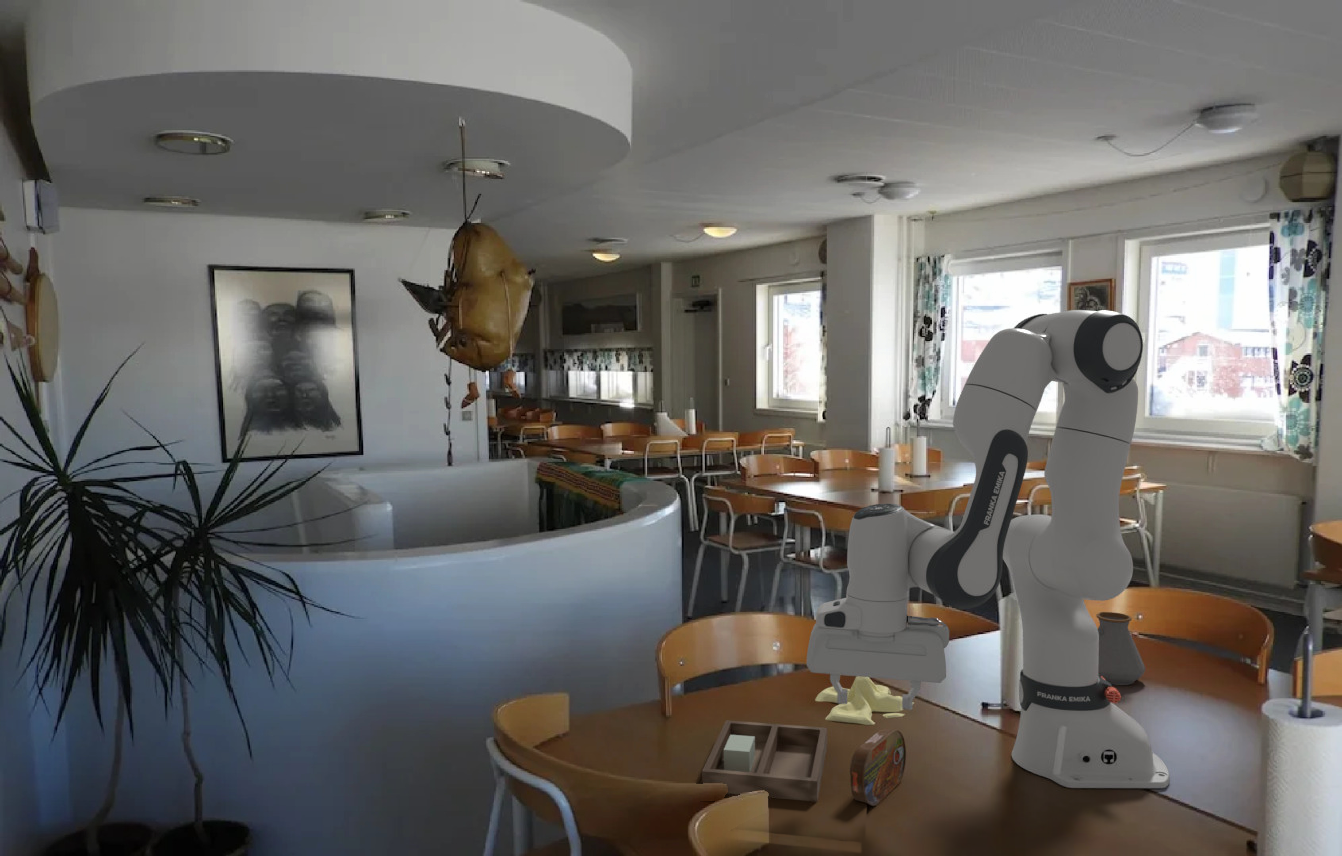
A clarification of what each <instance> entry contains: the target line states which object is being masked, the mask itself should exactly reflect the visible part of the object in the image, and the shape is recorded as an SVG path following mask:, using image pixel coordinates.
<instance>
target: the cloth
mask: <svg viewBox="0 0 1342 856" xmlns="http://www.w3.org/2000/svg"><path fill="white" fill-rule="evenodd" d="M842 689H846V688H845V687H842ZM847 689H848V695H847V696H848V701H847V704H842V703H841V704H840V703H837V692H836V690H835V689H834V687H833V686H830V687H827V688H824V689H823V690H822V691H821V692H819V693H818V694H817V696H816V697H815V698H814V700H815V702H829V703H835V704H837V705H835V706H834V707H832V708H831V710H830V713H829V714H828V715H827V716H826V717H825V721H833V722H839V723H846V724H847V723H848V724H857V725H863V726H864V725H865V726H867V725H868V726H870V725H872V726H874V725H875V724H876V722H874V721H873V720H872V716H873V713H872V712H880V713H881V712H882V713H883V714H882V716H883V718H886V719H891V718H900V717H901V718H902V717H903V716H905V715H906V714H905V713H900V712H902V711H903V710H905V709H902V695H895V696H894V695H892V692H891V689H890V688H889V687H888V686H884V685H883V684H882V685H881V684H875V683H874V682H873V681H872V679H871V677H860V676H855V678H854V681H853V683H852V685H851V687H850V688H847ZM913 704H915V702H913ZM898 712H899V713H898Z"/></svg>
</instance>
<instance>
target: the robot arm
mask: <svg viewBox="0 0 1342 856" xmlns="http://www.w3.org/2000/svg"><path fill="white" fill-rule="evenodd" d="M1143 349H1144V342H1143V336H1142V332H1141V330H1140V326H1139V325H1138V324H1137V322H1136V321H1135V319H1133V318H1132V317H1130V316H1129V315H1128V314H1127V315H1126V314H1125V313H1121V312H1117V311H1112V310H1105V309H1103V310H1097V311H1096V310H1087V309H1086V310H1085V309H1083V310H1082V309H1073V310H1072V309H1071V310H1065V311H1062V312H1052V313H1039V314H1034V315H1032V316H1030V317H1029V316H1028V317H1027V318H1025V319H1023V320H1021V321H1020V322H1018V323H1017V324H1016V325H1015V326H1014V327H1013V328H1006V329H1003V330H999V331H998V332H996V333H995V334H994V335H993V336H992V337H991V338H990V339H989V341H988V343H987V344H986V345H985V347H984V348H983V350H982V352H981V353H980V355H979V357H978V358H977V359H976V362H975V363H974V365H973V367H972V368H971V370H970V373H969V374H968V377H967V379H966V381H965V383H964V385H963V387H962V390H961V392H960V394H959V397H958V399H957V402H956V405H955V410H954V414H953V419H952V427H953V430H954V434H955V435H956V438H957V439H958V441H959V442H960V444H961V445H962V446H963V448H964V449H965V450H966V451H967V452H968V453H969V454H970V456H971V458H972V459H973V462H974V466H975V477H974V478H975V479H974V482H973V485H972V488H971V491H970V494H969V498H968V501H967V503H966V507H965V511H964V513H963V517H962V520H961V523H960V525H959V526H958V527H957V529H956V530H955V531H952V530H951V529H948V528H945V527H942V526H939V525H936V524H933V523H931V522H929V521H925V520H924V519H921V518H919V517H918V516H915V515H913V514H912V513H911V512H909V511H907V510H906V509H905V507H904V506H902V505H900V504H895V503H876V504H871V505H868V506H864V507H862V508H860V509H859V510H858V511H856V512H855V513H854V514H853V516H852V519H851V521H850V525H849V532H848V537H847V538H848V541H847V551H846V552H847V554H846V555H847V557H846V560H847V561H846V565H847V569H848V573H849V579H848V584H847V587H846V597H844V598H839V599H834V600H832V601H831V600H830V601H827V602H824V603H821V604H820V605H819V606H818V608H817V610H816V614H815V620H816V621H815V622H816V623H814V625H813V627H812V630H811V633H810V637H809V641H808V646H807V653H806V654H807V655H806V667H807V669H808V670H809V671H810V672H811V673H815V674H816V673H817V674H825V675H826V674H827V675H830V676H829V681H830V683H831V685H832V687H834V689H835V690H836V692H837V703H836V704H839V703H840V704H841V703H842V704H847V701H848V696H847V695H848V689H849V688H845V689H842V688H843V687H842V685H841V683H840V679H841V676H848V677H850V676H851V677H857V676H860V677H869V678H875V679H885V680H897V681H899V680H900V681H908V682H909V681H910V687H911V689H910V690H909V691H908V693H907V694H906V693H903V694H901V697H902V709H904V710H908V711H913V701H914V700H915V698H916V696H917V695H918V693H919V692H920V690H921V686H922V682H924V683H931V684H932V683H935V684H941V683H942V682H943V681H944V680H945V679H946V678H947V662H946V653H945V649H946V648H947V646H948V645H949V642H950V629H949V627H948V625H947V624H946V623H945V622H943V621H941V620H939V618H938V617H937V618H936V617H923V616H915V615H908V594H909V593H908V592H909V590H910V589H911V588H920V589H922V590H924V591H925V592H927V593H929V594H931V595H933V596H935V597H936V598H938V599H939V600H941V601H942V602H944V603H945V604H946V605H948V606H950V607H951V608H954V609H957V610H958V609H959V610H971V609H973V608H977V607H979V606H981V605H983V604H985V603H986V602H987V601H988V600H989V599H991V598H992V596H993V595H994V594H995V592H996V591H997V589H998V587H999V585H1000V582H1001V579H1002V574H1003V561H1004V563H1005V565H1006V566H1007V568H1008V571H1009V573H1010V576H1011V579H1012V583H1013V587H1014V591H1015V595H1016V598H1017V603H1018V608H1019V612H1020V616H1021V626H1022V669H1021V670H1020V672H1019V673H1020V674H1019V680H1018V682H1019V683H1018V697H1019V698H1018V702H1019V704H1020V716H1019V717H1020V718H1019V723H1018V728H1017V729H1018V730H1017V734H1016V735H1017V736H1016V738H1015V742H1014V745H1013V749H1012V751H1011V758H1012V760H1013V762H1014V763H1016V764H1017V765H1018V766H1020V767H1021V768H1023V769H1024V770H1026V771H1028V772H1029V773H1030V772H1031V773H1033V774H1035V775H1038V776H1041V777H1044V778H1047V779H1050V780H1052V781H1053V782H1055V783H1056V784H1058V785H1060V786H1062V787H1066V788H1068V789H1069V788H1070V789H1164V788H1167V787H1168V785H1169V784H1170V782H1171V780H1170V772H1169V770H1168V767H1167V765H1166V764H1165V763H1164V761H1163V760H1162V759H1161V758H1160V757H1159V756H1158V755H1157V754H1156V753H1154V752H1153V749H1152V745H1151V741H1150V739H1149V736H1148V734H1147V732H1146V731H1145V729H1144V727H1143V726H1142V725H1140V723H1139V722H1138V721H1137V720H1135V719H1134V718H1133V717H1132V716H1130V715H1129V714H1127V713H1126V712H1125V711H1123V710H1122V709H1121V708H1120V707H1119V706H1117V705H1116V704H1118V703H1119V701H1121V699H1122V696H1121V693H1120V691H1119V690H1118V689H1117V688H1116V687H1114V686H1113V684H1110V683H1109V682H1108V681H1106V680H1105V679H1104V678H1103V677H1102V676H1101V677H1099V676H1098V665H1099V633H1098V627H1097V624H1096V623H1095V620H1094V619H1093V618H1092V617H1091V615H1090V612H1089V610H1088V608H1087V606H1086V605H1087V604H1086V603H1085V600H1086V601H1087V600H1088V601H1098V602H1099V601H1108V600H1109V601H1110V600H1112V599H1115V598H1117V597H1118V596H1120V595H1121V594H1122V593H1124V591H1125V590H1126V589H1127V587H1128V586H1129V585H1130V582H1131V580H1132V577H1133V572H1134V564H1133V563H1134V562H1133V558H1132V557H1133V556H1132V555H1131V552H1130V551H1129V548H1128V547H1127V546H1126V544H1125V542H1124V539H1123V535H1122V532H1121V531H1122V530H1121V521H1120V507H1119V505H1120V491H1121V485H1122V483H1123V477H1124V474H1125V470H1126V469H1125V468H1126V465H1127V461H1128V457H1129V452H1130V449H1131V444H1132V441H1133V437H1134V435H1135V427H1136V422H1137V414H1138V404H1139V403H1138V402H1139V388H1138V385H1137V382H1136V381H1135V379H1134V377H1135V376H1136V374H1137V372H1138V369H1139V366H1140V364H1141V361H1142V356H1143ZM1051 382H1057V383H1062V387H1063V392H1064V402H1063V404H1062V406H1061V411H1060V413H1059V416H1058V419H1057V422H1056V425H1055V430H1054V434H1053V437H1052V441H1051V445H1050V448H1049V453H1048V456H1047V460H1046V463H1045V464H1046V465H1045V467H1044V479H1045V482H1046V484H1047V486H1048V488H1049V492H1050V496H1051V515H1046V514H1041V513H1040V514H1039V513H1038V514H1027V515H1020V516H1017V517H1014V518H1013V515H1014V511H1015V508H1016V505H1017V502H1018V498H1019V495H1020V492H1021V488H1022V484H1023V481H1024V477H1025V473H1026V469H1027V465H1028V458H1029V451H1028V450H1029V449H1028V446H1027V445H1028V438H1029V435H1030V430H1031V427H1032V424H1033V421H1034V419H1035V417H1036V415H1037V412H1038V409H1039V406H1040V404H1041V401H1042V398H1043V396H1044V393H1045V389H1046V388H1047V387H1048V385H1050V384H1051Z"/></svg>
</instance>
